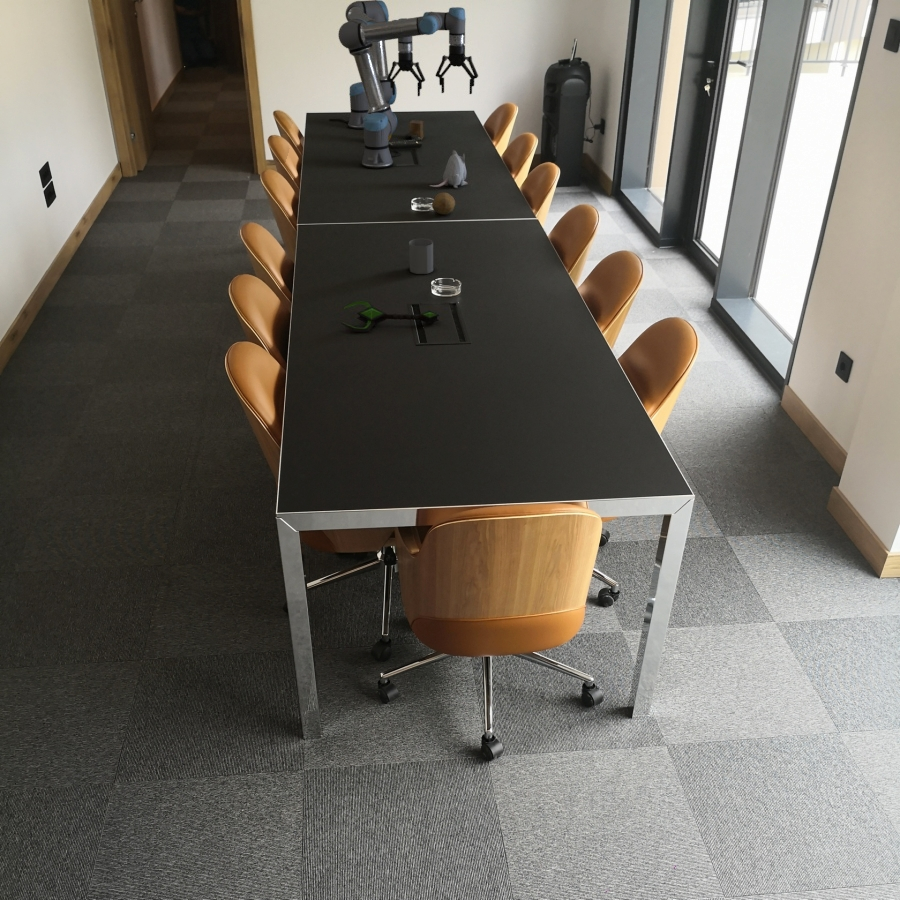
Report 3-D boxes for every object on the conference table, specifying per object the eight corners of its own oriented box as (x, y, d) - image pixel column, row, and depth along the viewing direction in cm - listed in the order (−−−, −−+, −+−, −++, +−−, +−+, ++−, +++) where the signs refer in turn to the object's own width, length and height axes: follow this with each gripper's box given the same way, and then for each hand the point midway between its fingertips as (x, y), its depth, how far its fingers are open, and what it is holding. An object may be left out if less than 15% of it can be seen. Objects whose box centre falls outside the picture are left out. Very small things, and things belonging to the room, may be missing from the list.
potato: (453, 208, 369) (453, 189, 365) (456, 218, 357) (456, 199, 353) (431, 208, 368) (430, 189, 364) (432, 218, 356) (432, 199, 352)
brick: (409, 140, 472) (409, 122, 467) (412, 137, 477) (412, 120, 473) (420, 140, 471) (420, 123, 466) (423, 137, 476) (423, 120, 472)
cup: (409, 265, 311) (408, 238, 306) (432, 265, 312) (431, 238, 307) (410, 274, 304) (409, 246, 299) (433, 273, 305) (433, 246, 299)
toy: (472, 184, 399) (472, 151, 391) (436, 195, 384) (436, 161, 376) (457, 180, 404) (458, 147, 396) (422, 191, 389) (421, 157, 381)
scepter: (438, 296, 270) (341, 293, 268) (439, 326, 263) (340, 324, 261) (437, 309, 275) (342, 306, 273) (438, 339, 268) (341, 337, 266)
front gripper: (429, 45, 403) (429, 93, 414) (482, 46, 399) (481, 95, 410) (432, 42, 409) (432, 90, 421) (484, 44, 405) (483, 92, 416)
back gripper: (380, 52, 448) (381, 95, 460) (427, 53, 445) (427, 97, 457) (383, 49, 455) (385, 92, 466) (430, 51, 451) (430, 94, 463)
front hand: (456, 93), depth 415 cm, fingers open, 13 cm apart
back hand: (406, 95), depth 462 cm, fingers open, 13 cm apart
